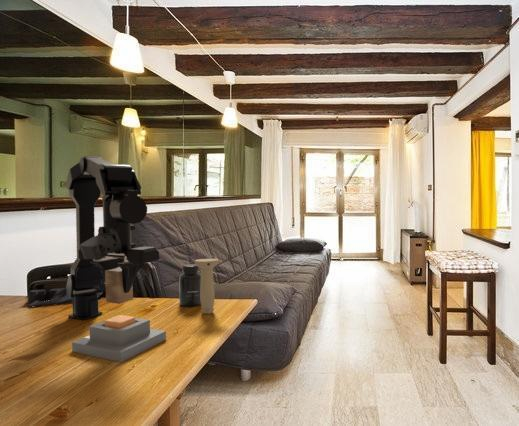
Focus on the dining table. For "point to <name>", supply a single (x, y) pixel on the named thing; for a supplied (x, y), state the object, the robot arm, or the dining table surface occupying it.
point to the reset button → (119, 321)
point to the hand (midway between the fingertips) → (119, 291)
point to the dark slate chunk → (49, 297)
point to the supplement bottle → (189, 286)
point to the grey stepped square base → (119, 340)
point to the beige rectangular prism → (116, 287)
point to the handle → (207, 284)
